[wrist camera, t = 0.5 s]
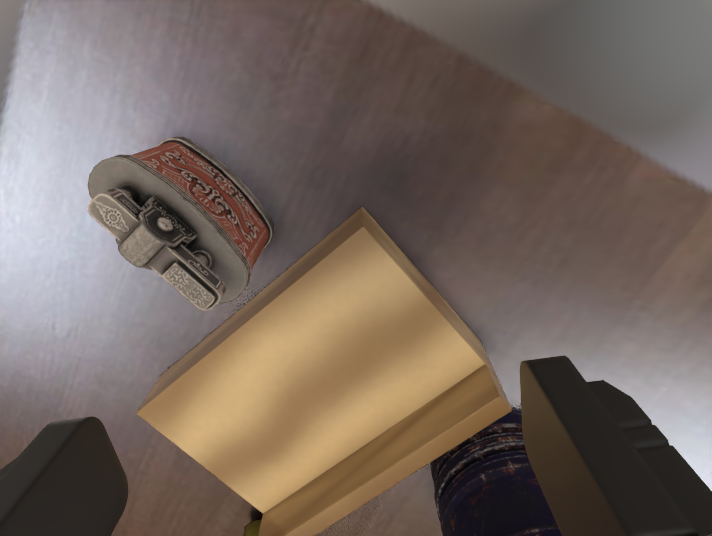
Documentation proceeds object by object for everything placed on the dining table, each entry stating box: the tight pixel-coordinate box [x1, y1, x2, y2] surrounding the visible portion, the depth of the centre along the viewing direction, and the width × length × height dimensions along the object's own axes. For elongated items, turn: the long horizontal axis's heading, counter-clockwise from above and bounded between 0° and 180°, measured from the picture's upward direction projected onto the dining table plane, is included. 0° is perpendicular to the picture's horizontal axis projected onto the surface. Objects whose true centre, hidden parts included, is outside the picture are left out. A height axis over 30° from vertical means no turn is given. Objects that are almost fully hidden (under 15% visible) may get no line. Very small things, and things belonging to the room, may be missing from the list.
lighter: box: [88, 137, 274, 311], centre depth 23 cm, size 8×3×10 cm, turn 43°
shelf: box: [136, 207, 512, 536], centre depth 29 cm, size 12×18×7 cm, turn 131°
